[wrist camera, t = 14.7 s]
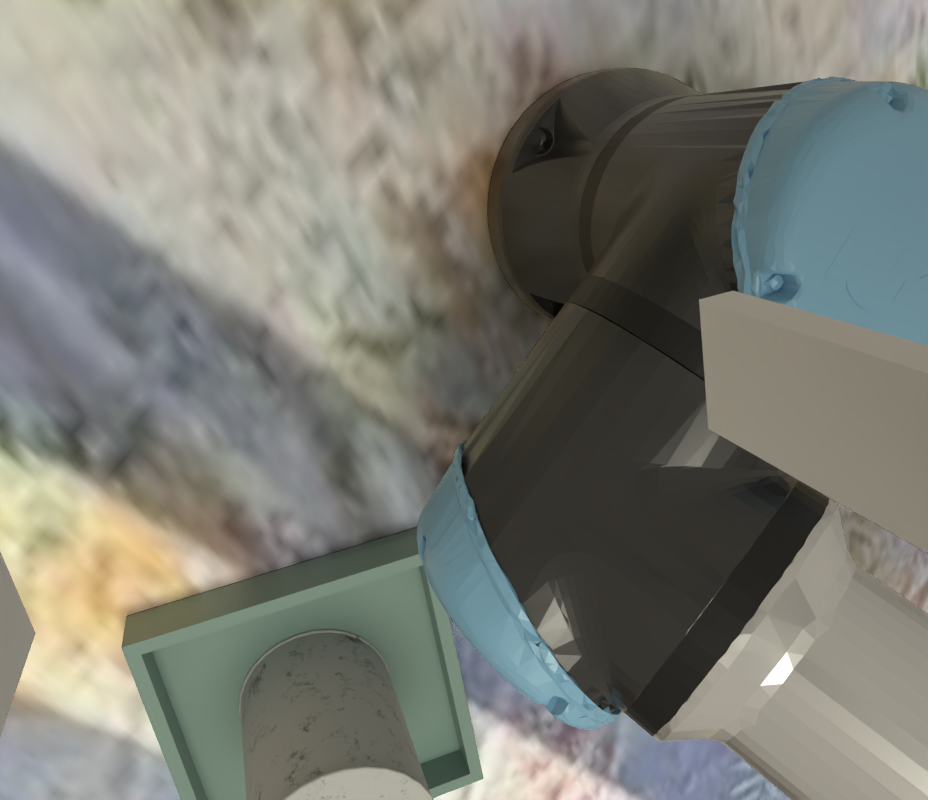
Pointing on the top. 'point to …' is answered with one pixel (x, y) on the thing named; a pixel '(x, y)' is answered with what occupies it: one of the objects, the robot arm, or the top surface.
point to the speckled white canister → (326, 724)
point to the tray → (282, 616)
